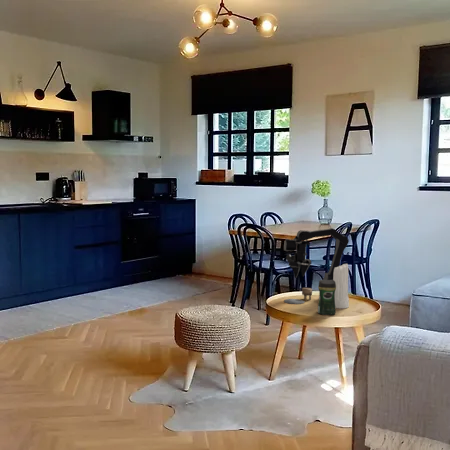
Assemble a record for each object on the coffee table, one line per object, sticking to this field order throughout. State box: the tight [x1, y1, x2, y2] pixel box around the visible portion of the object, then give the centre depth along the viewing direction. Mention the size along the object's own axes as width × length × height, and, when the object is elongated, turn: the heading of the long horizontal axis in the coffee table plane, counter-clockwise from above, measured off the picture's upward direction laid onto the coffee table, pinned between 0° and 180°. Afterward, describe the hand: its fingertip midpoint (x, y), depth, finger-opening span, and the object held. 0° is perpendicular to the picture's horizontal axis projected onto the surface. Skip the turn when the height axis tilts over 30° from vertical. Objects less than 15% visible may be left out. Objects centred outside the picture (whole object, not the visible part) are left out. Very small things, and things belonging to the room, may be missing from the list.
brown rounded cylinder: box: [301, 287, 313, 301], centre depth 337 cm, size 6×6×6 cm
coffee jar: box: [317, 279, 337, 316], centre depth 303 cm, size 10×8×19 cm
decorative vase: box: [333, 263, 350, 309], centre depth 320 cm, size 11×11×25 cm
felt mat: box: [283, 298, 305, 305], centre depth 331 cm, size 12×12×1 cm
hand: (299, 276), depth 337 cm, fingers open, 9 cm apart
